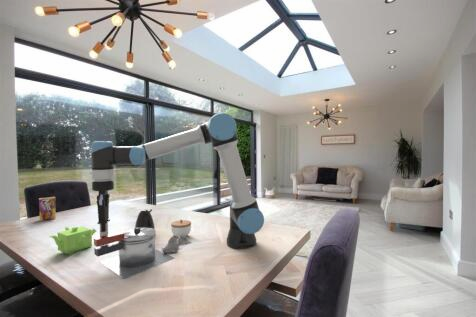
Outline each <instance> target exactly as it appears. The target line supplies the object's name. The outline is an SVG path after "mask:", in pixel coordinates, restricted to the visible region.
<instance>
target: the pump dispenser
mask: <svg viewBox="0 0 476 317" xmlns="http://www.w3.org/2000/svg"><path fill="white" fill-rule="evenodd" d="M152 212H153V209H151V208H150V209H149V210H148V209H141V210H140V212H139V213H138V215H137V218H136V222H135V224H134V228H137V227H140V228H152V229H155V230H156V228H155V223H154V219H153V216H152Z"/></svg>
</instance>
